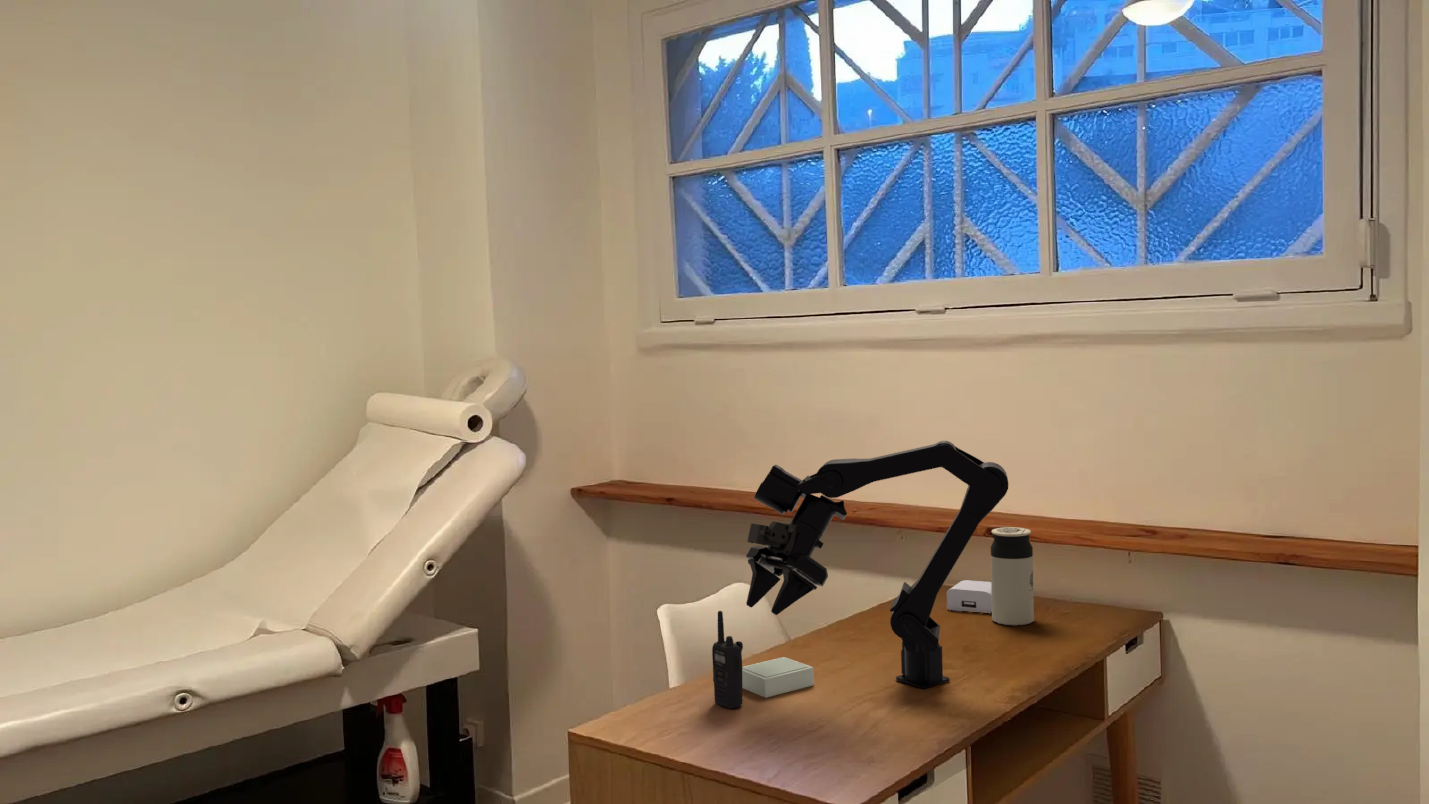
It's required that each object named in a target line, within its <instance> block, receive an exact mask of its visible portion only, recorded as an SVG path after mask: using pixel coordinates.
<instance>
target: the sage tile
mask: <svg viewBox="0 0 1429 804" xmlns="http://www.w3.org/2000/svg"><path fill="white" fill-rule="evenodd" d="M814 672H815V669H814V666H811V665H807V664H805V663H802V662H800V661H796V660H793V659H791V658H789V657H787V656H786V657H785V656H782V657H778V658H774V659H769V660H766V661H761V662H757V663H752V664H748V665H745V666H742V690H746V691H748V692H751V693H754V694H755V695H758V696H760V697H763V698H770V697H774V696H777V695H781V694H786V693H789V692H793V691H798V690H802V689H805V688H809V687H812V686H815V673H814Z"/></svg>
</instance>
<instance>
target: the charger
mask: <svg viewBox="0 0 1429 804" xmlns="http://www.w3.org/2000/svg"><path fill="white" fill-rule="evenodd" d="M946 608H947V610H949V611H951V610H952V611H953V610H954V612H962V611H974V612H985V613H989V614H992V594H991V581H982V580H981V581H980V580H969V579H966V580H965V579H964V580H961V581H959V582H957V583H956V584H955V585H953V586H952V587H951V588H949V589H947V591H946Z"/></svg>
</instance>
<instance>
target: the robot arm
mask: <svg viewBox="0 0 1429 804" xmlns="http://www.w3.org/2000/svg"><path fill="white" fill-rule="evenodd" d="M937 468H943V469H944V470H946V471H947V472H949V473H950V474H951V475H953V476H954V477H956V478H957V479H959V480H960V481H961V482H963V483H964V484H966V485H967V489H966V491H965V494H964V497H963V500H962V501H961V502H962V503H961V506H960V508H959V510H958V512H957V514H956V515H955V516H954V518H953V520H952V522H951V524H950V525H949V526H948V529H947V531H946V532H945V534H944V536H943V537H942V539H941V541H940V542H939V543H938V545H937V548H936V549H935V551H934V552H933V554H932V556H931V557H930V559H929V561H928V562H927V564H926V566H925V568H924V569H923V571H922V573H921V574H920V576H919V578H918V579H917V580H916V581H915V582H914V583H913V584H912V585H910V584H908V583H907V582H905V581H904V582H903V584H902V586H901V589H900V591H899V594H898V595H897V596H896V597H895V598H894V599H893V600H892V602H891V606H890V609H889V611H890V612H892V613H891V616H890V622H889V623H890V624H889V625H890V627H891V630H892V631H893V633H894V635H896V636H897V637H898V638H900V639H901V641H902V642H901V651H900V656H901V657H900V659H901V660H900V662H901V668H900V669H901V675H897V676H895V680H896V681H899V682H902V683H903V684H908V685H911V686H913V687H917V688H919V689H925V688H930V687H933V686H937V685H940V684H944V683H947V682H950V681H951V678H950V677H948V676H944V675H943V674H944V673H943V646H942V645H940V643H939V640H940V633H941V626H940V625H939V623H938V622H936V621H935V620H934V619H933V618H932V616H931V613H932V610H933V607H934V604H935V601H936V599H937V596H938V594H939V592H940V590H941V588H942V587H943V585H944V583H945V582H946V580H947V578H948V577H949V575H950V574H951V572H952V570H953V568H954V566H955V565H956V563H957V561H958V560H959V558H960V557H961V555H962V553H963V551H964V549H965V548H966V546H967V545H968V543H969V541H970V540H971V538H972V536H973V534H974V533H975V531H976V529H977V528H978V526H979V524H980V523H981V522H982V521H983V520H984V519H985V518H986V517H987V516H988V515H989V514H990V512H992V511H993V510H994V508H995V507H996V506H997V505H998V504H999V503H1000V502H1001V500H1003V499H1004V498H1005V496H1006V494H1007V492H1008V490H1009V479H1008V475H1007V472H1006V470H1005V468H1004V467H1003V466H1001V465H1000V464H999V463H996V462H993V461H991V462H990V461H986V462H985V461H983V460H982V459H980V458H977V457H975V456H974V455H972V454H970V453H968V452H967V451H965V450H962V449H961V448H959V447H957V446H956V445H955V444H954V443H952V441H948V440H941V441H938V442H937V443H933V444H929V445H924V446H920V447H915V448H911V449H907V450H902V451H898V452H893V453H890V454H885V455H880V456H876V457H871V458H837V459H831V460H828V461H826V462H825V463H824V464H823V465H821V467H819V469H818V470H817V472H816V473H814V474H812V475H807V476H806V477H804V478H803V479H801V478H799V477H797V476H795V475H793V474H792V473H789V472H788V471H786V470H785V469H784V468H783V467H781V466H779V465H778V464H774V465H772V467H771V469H770V470H769V472H768V473H767V475H766V477H765V478H764V480H762V482H760V484H759V486H758V488H757V489H756V492H755V494H754V498H753V499H754V500H756V501H757V502H759V503H761V504H763V505H764V506H766V507H768V508H770V509H772V510H774V511H775V512H777V513H779V514H781V515H785V513H786V514H787V513H788V512H789V513H790V514H791V513H793V511H794V510H795V508H796V506H797V505H798V503H799V501H800V499H801V498H803V500H802V502H801V504H800V506H799V507H798V509H797V511H796V512H795V514H794V516H793V517H792V519H791V520H790V523H783V522H779V521H772V522H771V523H770V524H769V525H764V524H760V523H759V524H758V523H750V527H749V532H748V538H747V543H750V544H758V545H754V546H752V547H750V549H749V550H748V552H747V554H746V555H745V557H746V559H747V563H748V565H749V566H750V568H751V573H752V576H751V580H750V586H749V590H748V594H747V598H746V602H745V603H746V606H747V607H749V608H753V607H755V605H756V604H758V603H759V602H760V600H762V598H764V597H765V596H766V595H767V594H768V592H769V591H771V590H772V589H773V587H775V586H776V585H777V583H778V582H780V580H781V578H780V577H781V576H782V577H783V582H782V584H781V585H780V588H779V590H778V593H777V596H776V598H775V600H774V602H773V605H772V608H771V611H770V612H771V613H772V614H773V615H774V616H778V615H779V614H781V613H782V612H783V611H784V610H786V609H787V608H789V607H790V606H792V605H793V604H794V603H795V602H797V601H798V600H800V599H802V598H803V597H804V596H806V595H808V594H809V593H811V592H812V591H814V590H817V589H818V586H819V587H823V586H824V585H825V583H826V581H827V580H828V578H829V573H828V570H827V568H826V567H825V566H823V565H822V564H821V563H820V562H818V561H816V560H815V559H814V558H812V555H813V554H814V552H815V551H816V549H822V547H823V545H824V542H823V541H821V539H822V537H823V536H824V534H825V532H826V530H827V529H828V527H829V526H830V523H831V521H832V519H833V518H834V516H835V517H837V518H838V519H840V520H845V519H846V517H847V515H848V512H847V510H846V507H845V501H844V500H841V501H835V500H833V499H836V498H840V497H842V496H845V495H846V494H849V493H851V492H852V493H853V492H854V491H856V490H858V489H861V488H862V487H865V486H866V485H867V486H868V485H871V484H872V483H874V482H879V481H885V480H889V479H893V478H897V477H902V476H905V475H911V474H915V473H919V472H925V471H928V470H933V469H937ZM814 494H815V495H814ZM816 494H821V495H820V496H819V497H818V496H816Z"/></svg>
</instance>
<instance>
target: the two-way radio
mask: <svg viewBox="0 0 1429 804" xmlns="http://www.w3.org/2000/svg"><path fill="white" fill-rule="evenodd" d="M723 613H724V612H723V611H721V610H718V612H717V641H715V642H714V643H713V644H712V647H711V649H712V650H711V651H712V652H711V655H712V656H711V657H712V675H713V676H712V681H713V687H714V688H713V690H714V703H715V704H717V705H719V706H722V707H723V708H728V709H729V710H732V709H733V710H734V709H735V708H740V707H741V706H742V705H743V688H742V667H743V658H742V657H743V655H742V652H743V649H744V644H743V642H742V641H740V640H739V641H735V642H734V639H733V638H734V637H732V636H730V635H728V636H726V638H725V631H724V630H725V629H724V627H725V626H724V614H723Z"/></svg>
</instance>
